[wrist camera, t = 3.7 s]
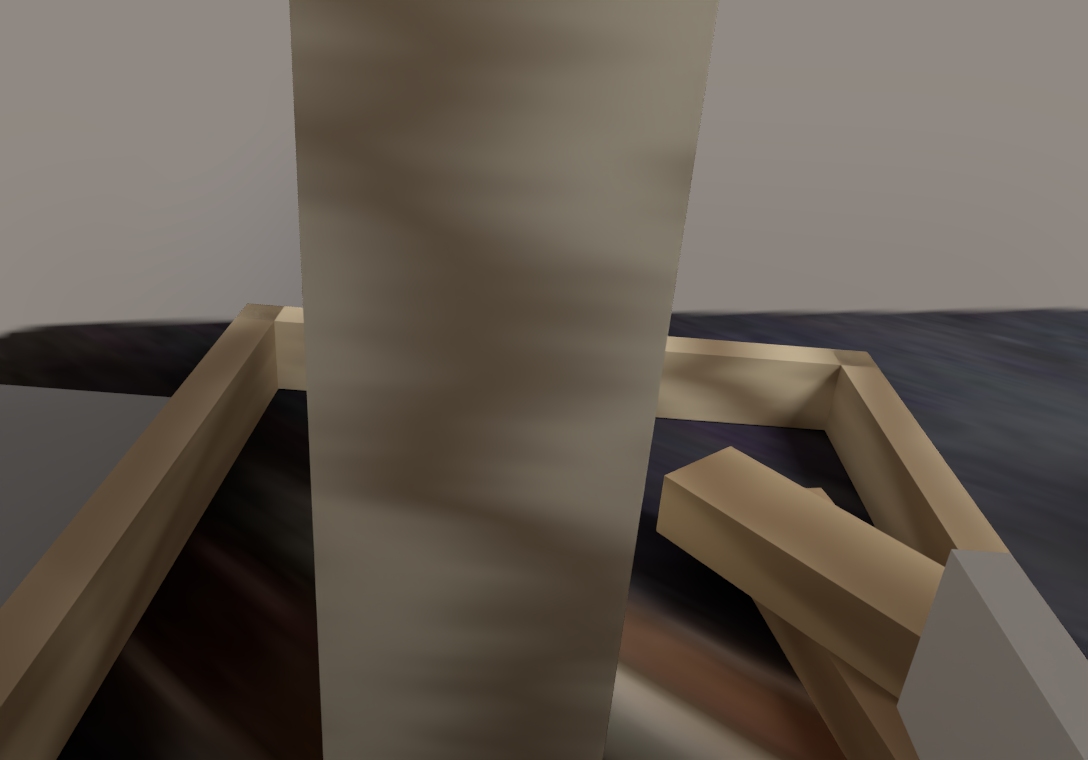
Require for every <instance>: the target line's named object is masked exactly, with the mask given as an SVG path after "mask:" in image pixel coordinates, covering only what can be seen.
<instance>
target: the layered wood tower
mask: <svg viewBox="0 0 1088 760" xmlns="http://www.w3.org/2000/svg"><path fill="white" fill-rule="evenodd" d="M289 4H290V27H291V49H292V72H293V92H294V115H295V138H296V160H297V181H298V206H299V226H300V227H299V228H300V250H301V270H302V271H301V273H302V294H303V317H304V340H305V362H306V384H307V407H308V429H309V451H310V474H311V496H312V518H313V540H314V563H315V585H316V607H317V630H318V652H319V674H320V697H321V719H322V741H323V760H603V755H604V748H605V742H606V735H607V729H608V722H609V715H610V709H611V702H612V696H613V689H614V683H615V676H616V670H617V663H618V657H619V650H620V644H621V637H622V631H623V624H624V618H625V611H626V604H627V598H628V591H629V585H630V578H631V572H632V565H633V559H634V552H635V546H636V539H637V533H638V526H639V520H640V513H641V507H642V500H643V494H644V487H645V480H646V474H647V467H648V461H649V454H650V448H651V441H652V435H653V428H654V422H655V415H656V409H657V402H658V396H659V389H660V383H661V376H662V370H663V363H664V356H665V350H666V343H667V337H668V330H669V324H670V317H671V311H672V304H673V298H674V291H675V284H676V278H677V271H678V265H679V258H680V252H681V245H682V239H683V232H684V225H685V219H686V213H687V206H688V200H689V193H690V187H691V180H692V174H693V167H694V160H695V154H696V148H697V141H698V135H699V128H700V121H701V115H702V108H703V102H704V95H705V89H706V82H707V76H708V69H709V63H710V56H711V49H712V43H713V36H714V30H715V24H716V17H717V10H718V4H719V0H289Z"/></svg>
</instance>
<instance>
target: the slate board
mask: <svg viewBox="0 0 1088 760" xmlns="http://www.w3.org/2000/svg"><path fill="white" fill-rule="evenodd" d="M170 398H171V397H160V396H146V395H133V394H120V393H107V392H94V391H80V390H67V389H54V388H41V387H28V386H14V385H1V384H0V608H1V607H2V606H3V604H4V603H5V602H6V601H7V599H8V598H9V597H10V596H11V595H12V593H13V592H14V591H15V590H16V588H17V587H18V586H19V585H20V583H21V582H22V581H23V580H24V578H25V577H26V576H27V575H28V574H29V572H30V571H31V570H32V569H33V567H34V566H35V565H36V564H37V562H38V561H39V560H40V559H41V558H42V556H43V555H44V554H45V553H46V551H47V550H48V549H49V548H50V546H51V545H52V544H53V543H54V541H55V540H56V539H57V538H58V537H59V535H60V534H61V533H62V532H63V530H64V529H65V528H66V527H67V525H68V524H69V523H70V522H71V521H72V519H73V518H74V517H75V516H76V514H77V513H78V512H79V511H80V509H81V508H82V507H83V506H84V504H85V503H86V502H87V501H88V500H89V498H90V497H91V496H92V495H93V493H94V492H95V491H96V490H97V488H98V487H99V486H100V485H101V484H102V482H103V481H104V480H105V479H106V477H107V476H108V475H109V474H110V472H111V471H112V470H113V469H114V467H115V466H116V465H117V464H118V463H119V461H120V460H121V459H122V458H123V456H124V455H125V454H126V453H127V451H128V450H129V449H130V448H131V447H132V445H133V444H134V443H135V442H136V440H137V439H138V438H139V437H140V435H141V434H142V433H143V432H144V430H145V429H146V428H147V427H148V426H149V424H150V423H151V422H152V421H153V419H154V418H155V417H156V416H157V414H158V413H159V412H160V411H161V410H162V408H163V407H164V406H165V405H166V403H167V402H168V401H169V400H170Z"/></svg>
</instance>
